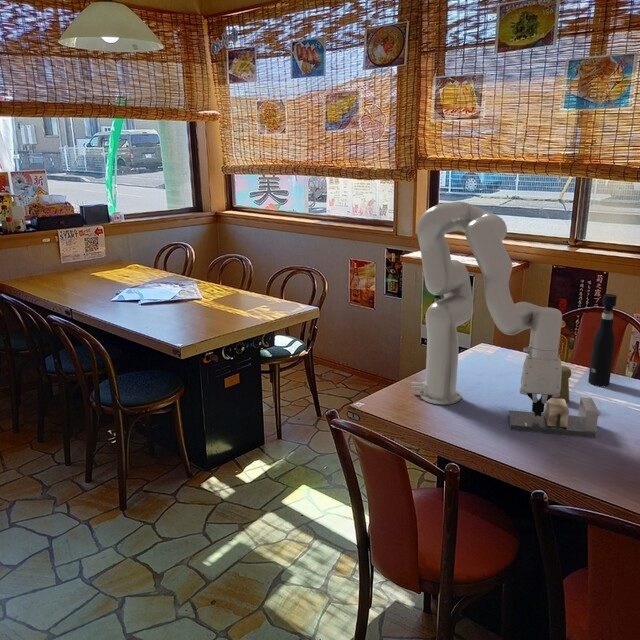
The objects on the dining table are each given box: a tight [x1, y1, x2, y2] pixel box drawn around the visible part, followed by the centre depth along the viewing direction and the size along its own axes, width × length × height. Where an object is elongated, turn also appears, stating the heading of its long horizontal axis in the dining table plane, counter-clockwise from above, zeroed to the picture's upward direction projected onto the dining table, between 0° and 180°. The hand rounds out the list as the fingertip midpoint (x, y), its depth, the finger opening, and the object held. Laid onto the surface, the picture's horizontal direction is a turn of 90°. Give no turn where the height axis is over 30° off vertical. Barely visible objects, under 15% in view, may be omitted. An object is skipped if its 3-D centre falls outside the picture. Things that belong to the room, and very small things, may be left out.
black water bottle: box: [587, 293, 618, 388], centre depth 196 cm, size 6×6×30 cm
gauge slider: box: [544, 398, 570, 428], centre depth 168 cm, size 5×9×5 cm, turn 167°
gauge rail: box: [507, 397, 599, 438], centre depth 169 cm, size 22×10×8 cm, turn 77°
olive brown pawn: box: [552, 365, 572, 405], centre depth 185 cm, size 6×6×11 cm
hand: (537, 414), depth 170 cm, fingers closed
